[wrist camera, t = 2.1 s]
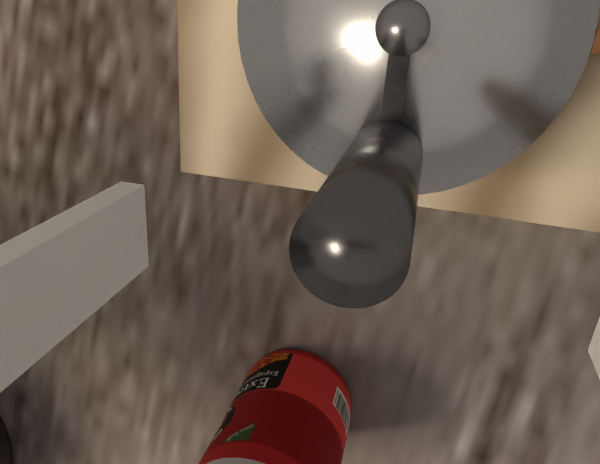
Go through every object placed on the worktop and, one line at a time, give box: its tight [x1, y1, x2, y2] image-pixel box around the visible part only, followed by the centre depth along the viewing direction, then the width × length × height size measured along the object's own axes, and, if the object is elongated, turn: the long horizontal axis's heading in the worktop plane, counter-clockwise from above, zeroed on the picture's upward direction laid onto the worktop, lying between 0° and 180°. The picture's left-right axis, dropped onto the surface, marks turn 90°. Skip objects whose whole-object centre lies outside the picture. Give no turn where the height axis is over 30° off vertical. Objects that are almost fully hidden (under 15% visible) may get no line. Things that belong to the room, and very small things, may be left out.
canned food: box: [199, 349, 352, 464], centre depth 33 cm, size 8×8×11 cm
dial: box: [237, 0, 600, 308], centre depth 19 cm, size 16×16×14 cm
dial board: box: [177, 0, 600, 233], centre depth 26 cm, size 24×18×2 cm
